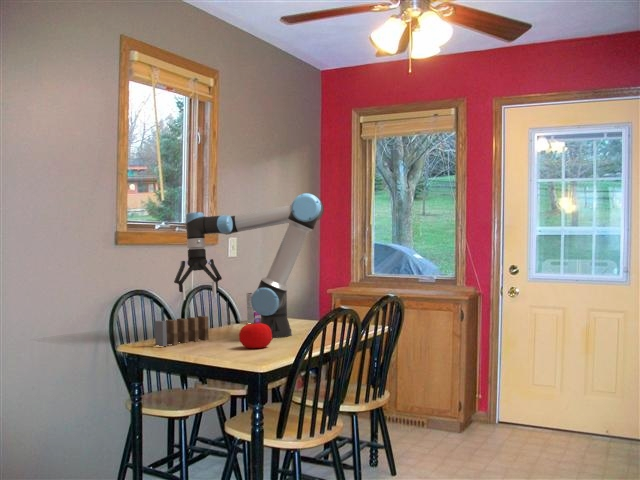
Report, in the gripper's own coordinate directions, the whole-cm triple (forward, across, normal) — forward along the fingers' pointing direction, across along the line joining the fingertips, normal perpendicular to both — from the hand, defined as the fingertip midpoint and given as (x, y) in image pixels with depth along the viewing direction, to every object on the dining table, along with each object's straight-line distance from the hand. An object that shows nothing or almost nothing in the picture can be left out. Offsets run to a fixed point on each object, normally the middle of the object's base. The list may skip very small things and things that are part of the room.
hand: (199, 298), depth 268 cm
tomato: (+19, +11, -34) cm, 41 cm away
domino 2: (+18, -14, -4) cm, 23 cm away
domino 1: (+17, -19, -6) cm, 26 cm away
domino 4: (+18, -4, 0) cm, 18 cm away
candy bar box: (+18, +43, +43) cm, 64 cm away
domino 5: (+18, +1, +2) cm, 18 cm away
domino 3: (+18, -9, -2) cm, 20 cm away
